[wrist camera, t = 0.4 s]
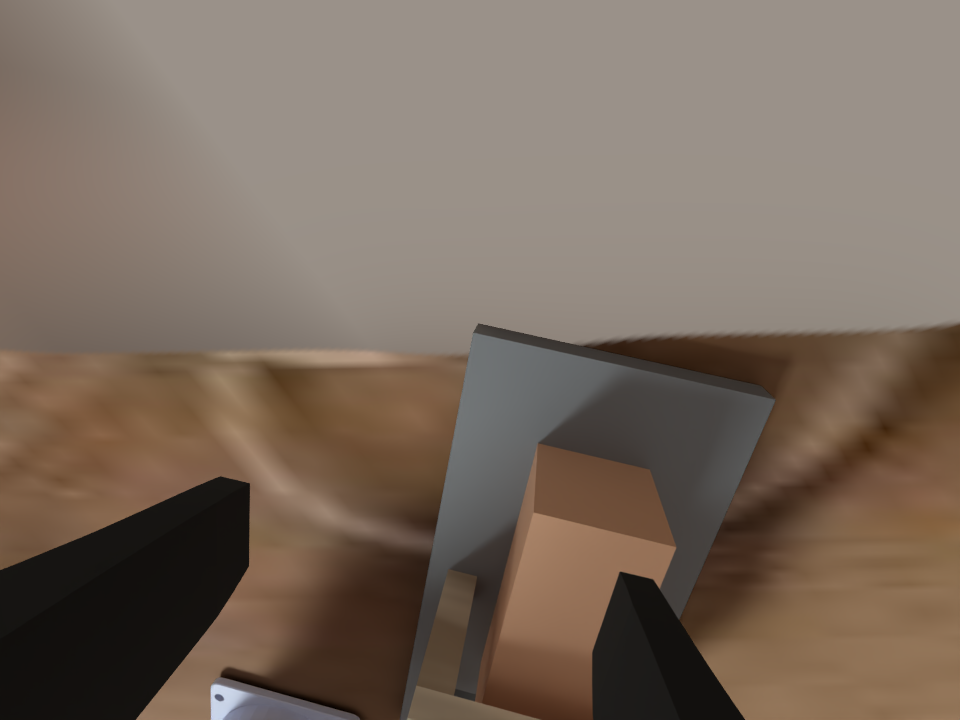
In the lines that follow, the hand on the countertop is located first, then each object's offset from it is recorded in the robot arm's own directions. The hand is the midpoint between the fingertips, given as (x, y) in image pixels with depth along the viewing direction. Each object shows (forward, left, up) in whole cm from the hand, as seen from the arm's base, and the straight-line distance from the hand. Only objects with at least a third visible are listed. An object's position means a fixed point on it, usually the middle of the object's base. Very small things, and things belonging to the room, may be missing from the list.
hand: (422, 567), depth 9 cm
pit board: (-8, -4, -10) cm, 13 cm away
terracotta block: (-7, -4, -8) cm, 12 cm away
